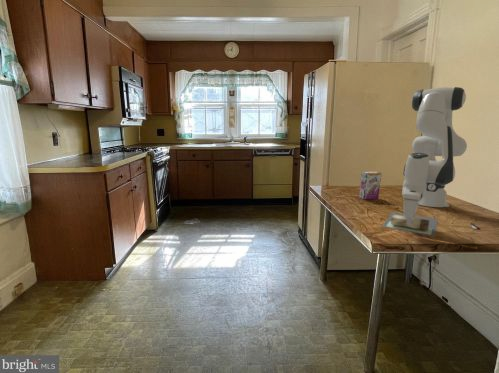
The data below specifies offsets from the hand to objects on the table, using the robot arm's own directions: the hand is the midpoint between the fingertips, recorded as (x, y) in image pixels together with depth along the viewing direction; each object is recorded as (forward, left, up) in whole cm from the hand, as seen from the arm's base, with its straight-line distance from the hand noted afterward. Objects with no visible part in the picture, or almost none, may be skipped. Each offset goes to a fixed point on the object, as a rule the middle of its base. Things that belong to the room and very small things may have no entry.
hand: (409, 222), depth 129 cm
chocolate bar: (-25, +19, -4) cm, 32 cm away
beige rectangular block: (0, 0, -1) cm, 1 cm away
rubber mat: (-8, 0, -3) cm, 8 cm away
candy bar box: (-48, -27, -3) cm, 55 cm away
